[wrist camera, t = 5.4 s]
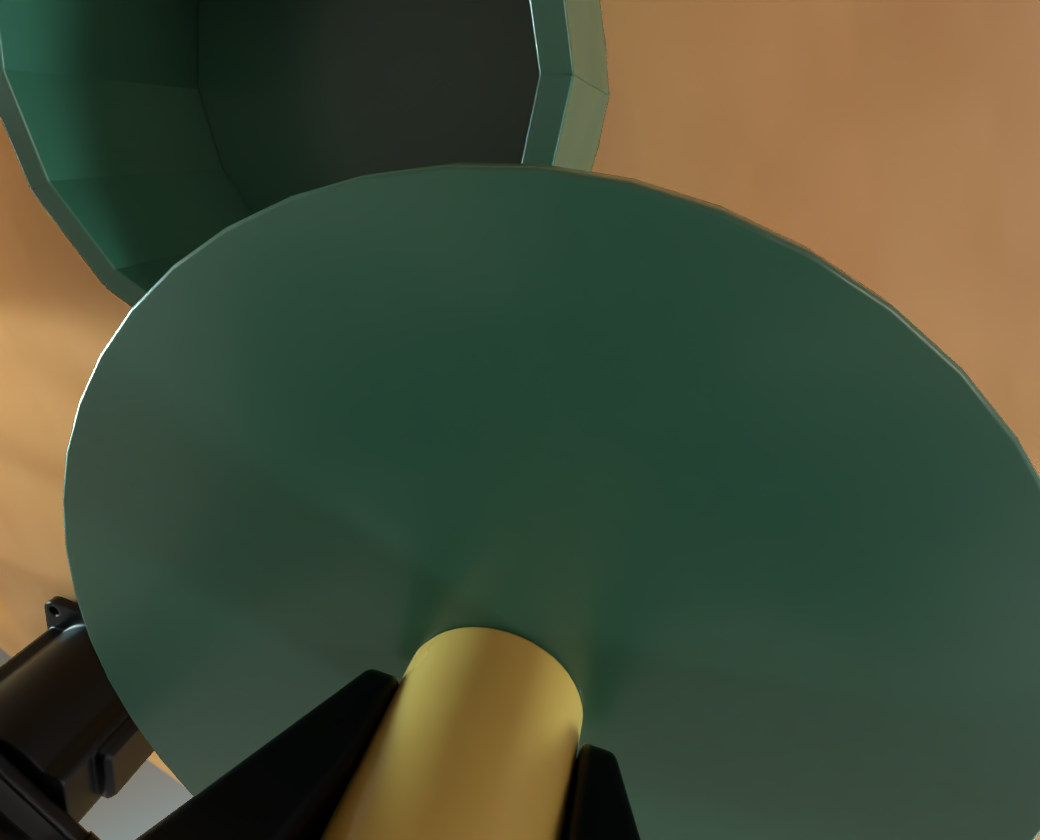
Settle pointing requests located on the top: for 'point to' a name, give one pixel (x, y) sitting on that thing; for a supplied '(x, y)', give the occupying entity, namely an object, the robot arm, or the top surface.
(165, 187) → the tin
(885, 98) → the top surface
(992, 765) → the tin lid
